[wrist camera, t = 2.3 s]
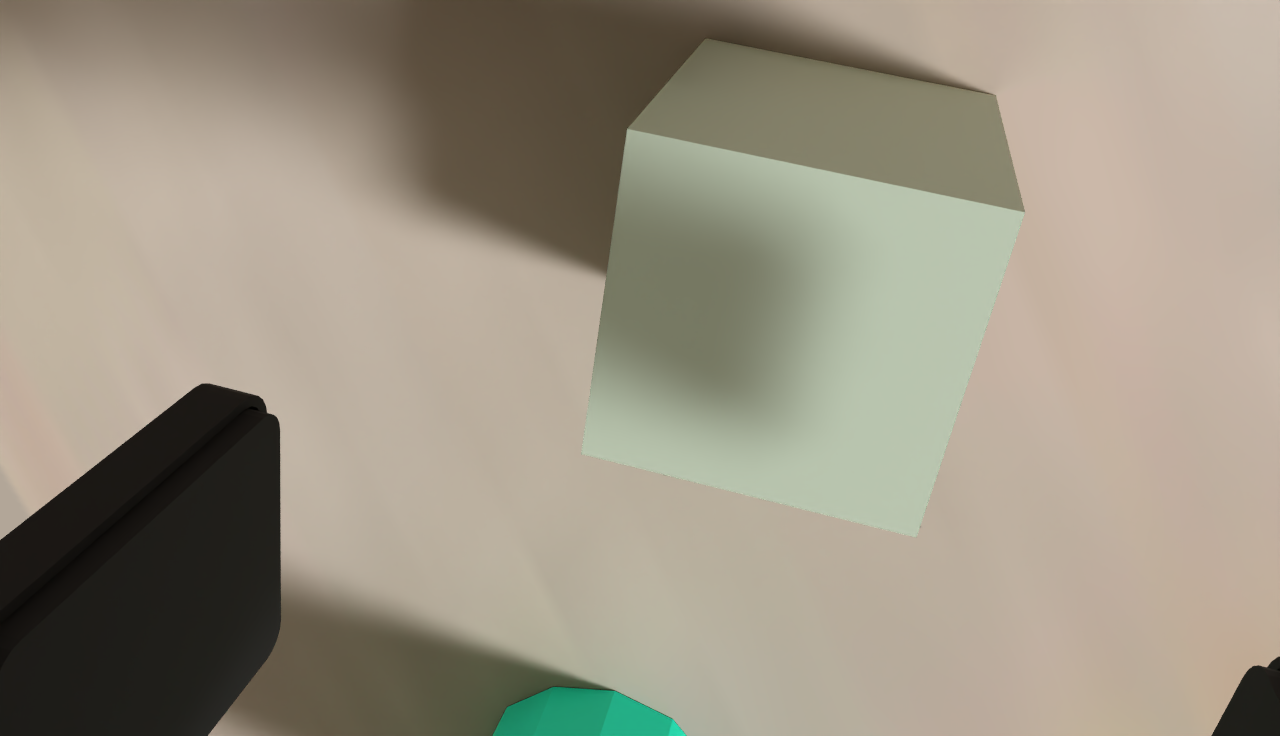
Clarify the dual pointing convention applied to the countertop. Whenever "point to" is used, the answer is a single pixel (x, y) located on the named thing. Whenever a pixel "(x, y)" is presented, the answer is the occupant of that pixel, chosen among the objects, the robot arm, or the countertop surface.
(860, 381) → the sage block
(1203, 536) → the countertop surface
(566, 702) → the candle
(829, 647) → the countertop surface
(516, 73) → the countertop surface
